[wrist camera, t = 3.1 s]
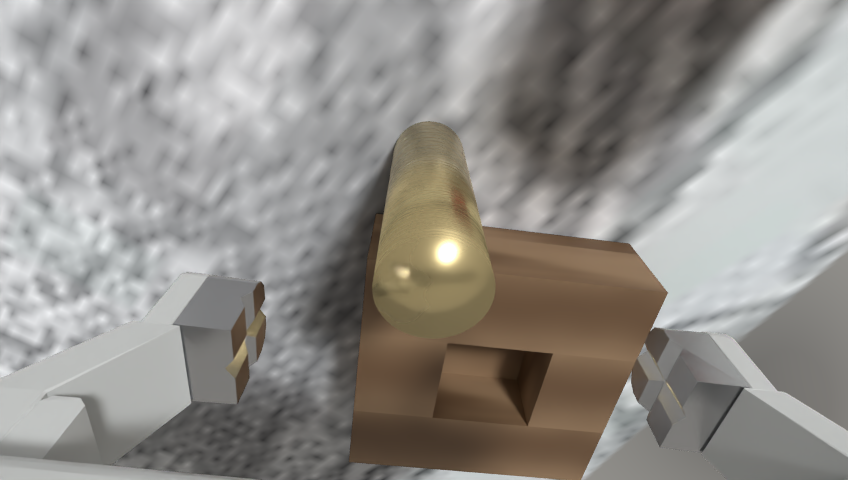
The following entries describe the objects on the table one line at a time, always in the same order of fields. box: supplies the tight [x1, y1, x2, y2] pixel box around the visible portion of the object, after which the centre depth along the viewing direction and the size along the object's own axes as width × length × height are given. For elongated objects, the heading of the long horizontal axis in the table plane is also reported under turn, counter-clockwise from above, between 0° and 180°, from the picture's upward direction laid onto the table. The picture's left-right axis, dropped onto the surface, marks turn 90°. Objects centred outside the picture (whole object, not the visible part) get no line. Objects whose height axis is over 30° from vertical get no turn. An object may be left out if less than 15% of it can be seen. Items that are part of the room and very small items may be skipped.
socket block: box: [349, 214, 668, 480], centre depth 23 cm, size 12×12×4 cm
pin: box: [372, 121, 495, 339], centre depth 16 cm, size 3×3×10 cm
